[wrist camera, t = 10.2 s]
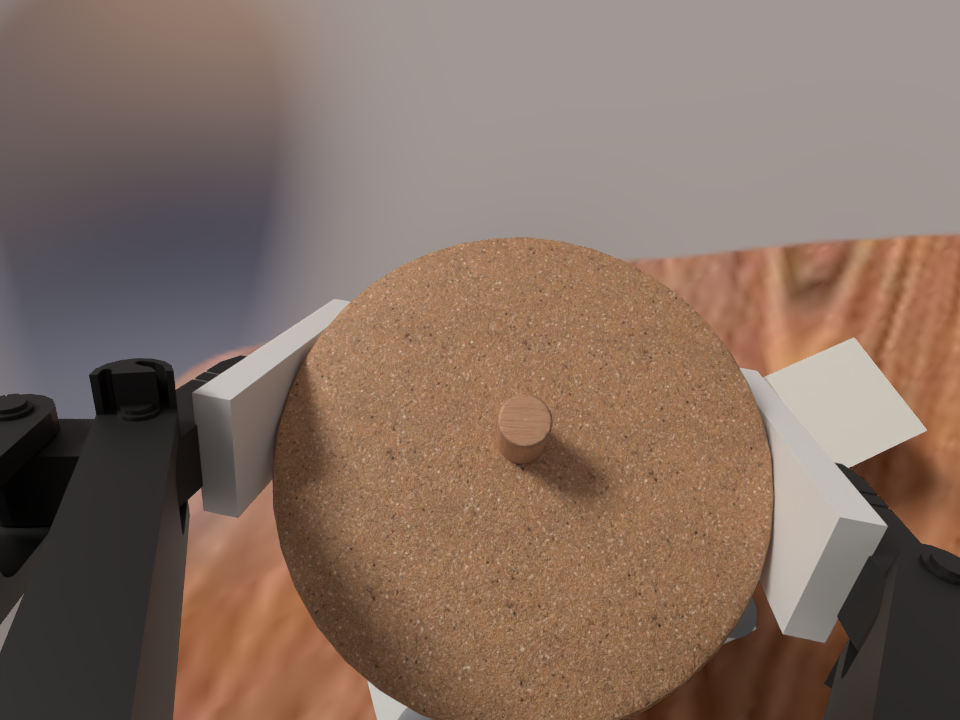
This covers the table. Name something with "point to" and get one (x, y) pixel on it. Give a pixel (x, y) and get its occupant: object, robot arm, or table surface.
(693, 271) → the table surface
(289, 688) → the table surface
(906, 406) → the plain off-white block
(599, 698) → the lidded jar
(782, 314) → the table surface
